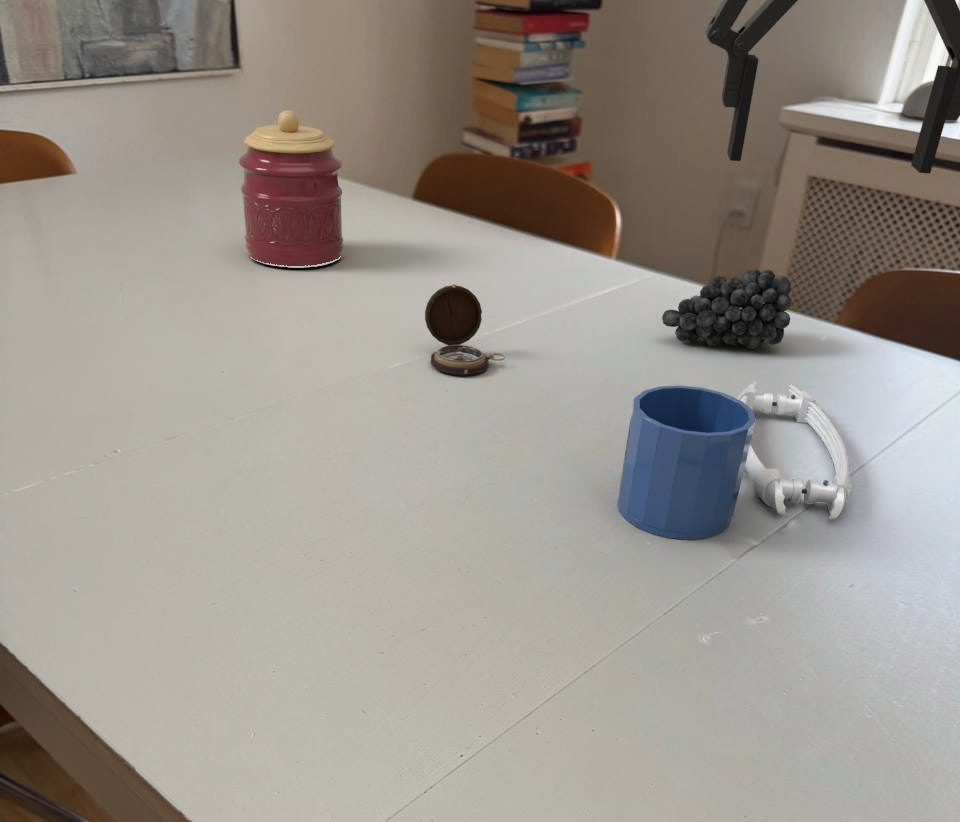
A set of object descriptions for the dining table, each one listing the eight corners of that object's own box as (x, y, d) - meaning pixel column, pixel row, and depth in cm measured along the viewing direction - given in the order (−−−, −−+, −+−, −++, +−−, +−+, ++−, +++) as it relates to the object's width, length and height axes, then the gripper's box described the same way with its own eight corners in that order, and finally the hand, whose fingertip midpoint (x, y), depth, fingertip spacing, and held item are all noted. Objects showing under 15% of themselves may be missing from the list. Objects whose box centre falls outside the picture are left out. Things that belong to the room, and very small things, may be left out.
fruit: (674, 265, 109) (809, 268, 110) (657, 269, 117) (783, 271, 118) (668, 348, 112) (799, 350, 113) (652, 346, 120) (775, 348, 121)
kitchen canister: (363, 255, 137) (361, 112, 127) (302, 277, 128) (295, 124, 117) (288, 237, 142) (281, 98, 132) (225, 257, 133) (212, 108, 122)
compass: (437, 378, 103) (439, 307, 99) (423, 350, 109) (424, 283, 105) (511, 375, 105) (517, 306, 101) (493, 348, 111) (498, 282, 107)
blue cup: (727, 490, 87) (749, 392, 81) (735, 545, 79) (760, 441, 74) (618, 478, 87) (634, 380, 82) (616, 532, 80) (633, 427, 74)
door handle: (816, 408, 103) (865, 527, 83) (720, 399, 103) (745, 515, 83) (823, 383, 101) (875, 498, 81) (725, 374, 102) (752, 486, 82)
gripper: (710, -227, 59) (658, 162, 72) (1147, -211, 57) (1016, 185, 70) (702, -215, 65) (655, 142, 78) (1098, -199, 63) (984, 163, 76)
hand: (826, 164), depth 74 cm, fingers open, 13 cm apart
